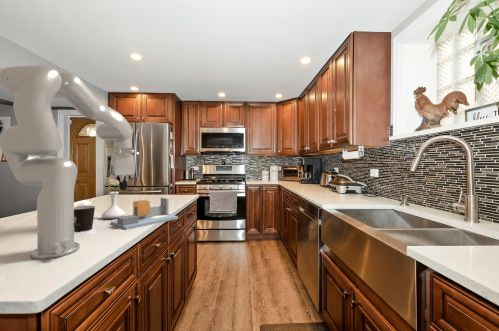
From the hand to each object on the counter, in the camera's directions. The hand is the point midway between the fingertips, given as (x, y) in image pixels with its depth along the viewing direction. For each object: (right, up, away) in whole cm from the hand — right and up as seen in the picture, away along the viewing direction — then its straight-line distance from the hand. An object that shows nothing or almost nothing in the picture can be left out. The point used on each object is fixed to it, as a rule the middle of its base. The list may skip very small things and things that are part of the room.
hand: (123, 189), depth 114 cm
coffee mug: (-14, -17, -8) cm, 23 cm away
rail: (+8, -17, +7) cm, 20 cm away
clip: (+6, -14, +7) cm, 16 cm away
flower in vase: (-12, -17, +14) cm, 25 cm away
